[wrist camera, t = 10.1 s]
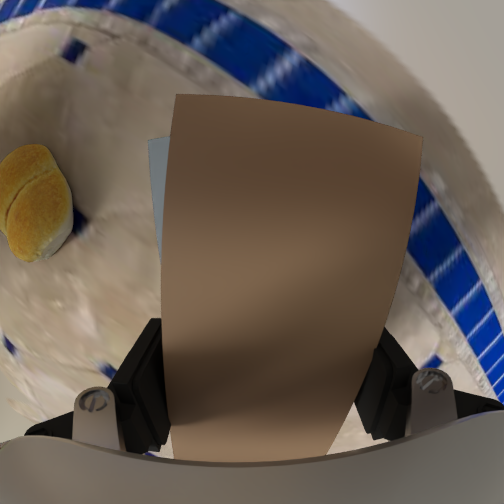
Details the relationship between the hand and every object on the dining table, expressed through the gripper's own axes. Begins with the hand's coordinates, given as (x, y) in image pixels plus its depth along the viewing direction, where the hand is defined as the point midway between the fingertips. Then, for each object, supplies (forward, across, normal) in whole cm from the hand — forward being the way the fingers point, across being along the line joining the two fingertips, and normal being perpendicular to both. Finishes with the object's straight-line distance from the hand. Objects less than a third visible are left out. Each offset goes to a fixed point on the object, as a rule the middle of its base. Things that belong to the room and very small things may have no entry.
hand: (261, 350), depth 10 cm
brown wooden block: (+1, 0, 0) cm, 1 cm away
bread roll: (+9, +17, -6) cm, 20 cm away
